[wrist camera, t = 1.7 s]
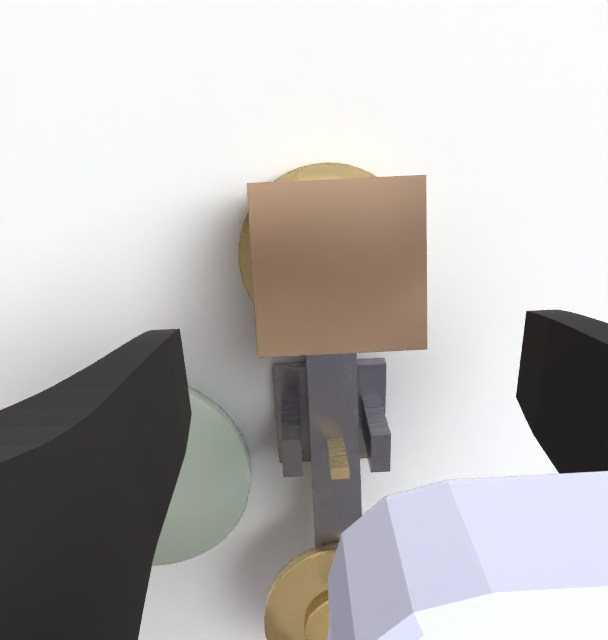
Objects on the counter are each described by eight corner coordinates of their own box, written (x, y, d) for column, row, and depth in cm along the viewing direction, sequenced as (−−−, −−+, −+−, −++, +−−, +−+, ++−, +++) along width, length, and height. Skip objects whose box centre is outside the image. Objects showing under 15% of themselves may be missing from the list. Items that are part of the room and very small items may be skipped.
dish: (257, 542, 26) (256, 559, 25) (61, 553, 26) (53, 571, 25) (240, 370, 22) (238, 382, 22) (13, 381, 22) (1, 394, 21)
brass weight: (383, 652, 22) (387, 673, 21) (305, 657, 22) (306, 678, 21) (381, 583, 21) (385, 601, 20) (302, 587, 21) (302, 606, 20)
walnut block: (396, 318, 19) (427, 349, 15) (265, 324, 19) (257, 357, 15) (394, 184, 19) (425, 175, 14) (257, 190, 19) (246, 183, 14)
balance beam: (414, 658, 24) (433, 727, 20) (270, 667, 23) (267, 737, 20) (407, 162, 20) (429, 152, 17) (236, 170, 20) (226, 161, 17)
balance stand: (382, 449, 24) (396, 501, 21) (279, 455, 24) (278, 507, 21) (383, 358, 22) (398, 400, 19) (273, 363, 22) (271, 406, 19)
